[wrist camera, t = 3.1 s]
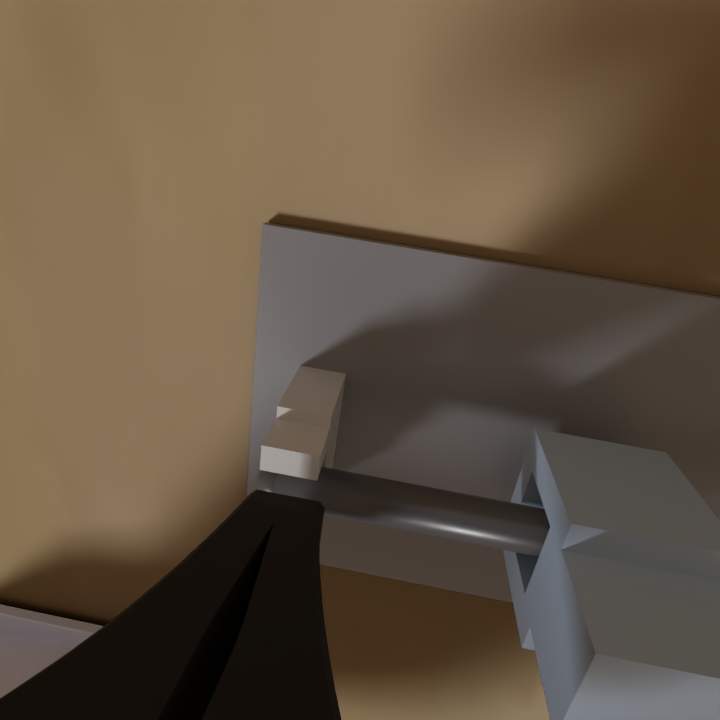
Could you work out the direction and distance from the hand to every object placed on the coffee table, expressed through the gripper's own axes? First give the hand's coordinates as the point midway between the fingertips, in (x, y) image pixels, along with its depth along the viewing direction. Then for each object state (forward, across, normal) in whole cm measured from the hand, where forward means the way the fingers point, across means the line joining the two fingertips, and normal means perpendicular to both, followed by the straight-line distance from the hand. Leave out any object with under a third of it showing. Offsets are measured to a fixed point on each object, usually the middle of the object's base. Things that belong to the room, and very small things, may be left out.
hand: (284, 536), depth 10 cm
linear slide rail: (+5, -8, 0) cm, 10 cm away
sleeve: (+3, -6, 0) cm, 7 cm away
